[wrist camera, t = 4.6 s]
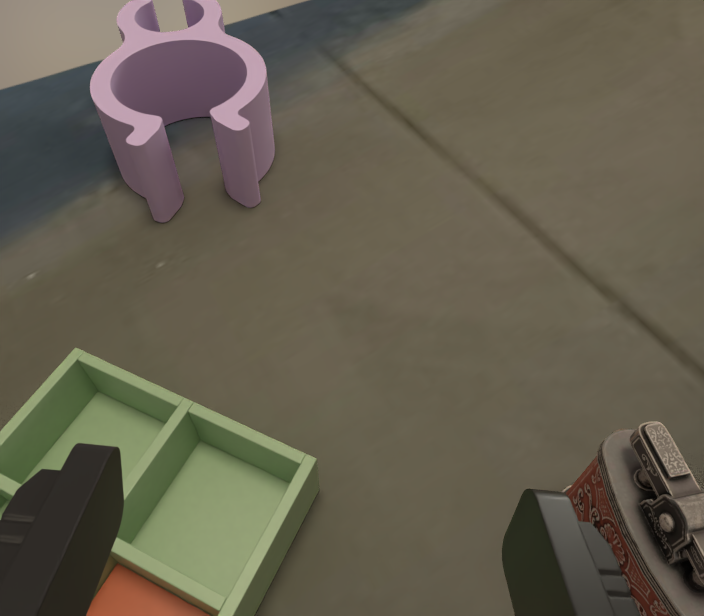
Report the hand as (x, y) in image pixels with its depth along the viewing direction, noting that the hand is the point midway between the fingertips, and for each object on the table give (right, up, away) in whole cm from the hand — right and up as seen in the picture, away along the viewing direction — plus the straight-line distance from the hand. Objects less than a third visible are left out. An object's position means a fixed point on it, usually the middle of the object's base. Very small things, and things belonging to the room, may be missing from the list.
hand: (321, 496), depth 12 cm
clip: (-13, +18, +39) cm, 44 cm away
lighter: (+13, -9, +18) cm, 24 cm away
